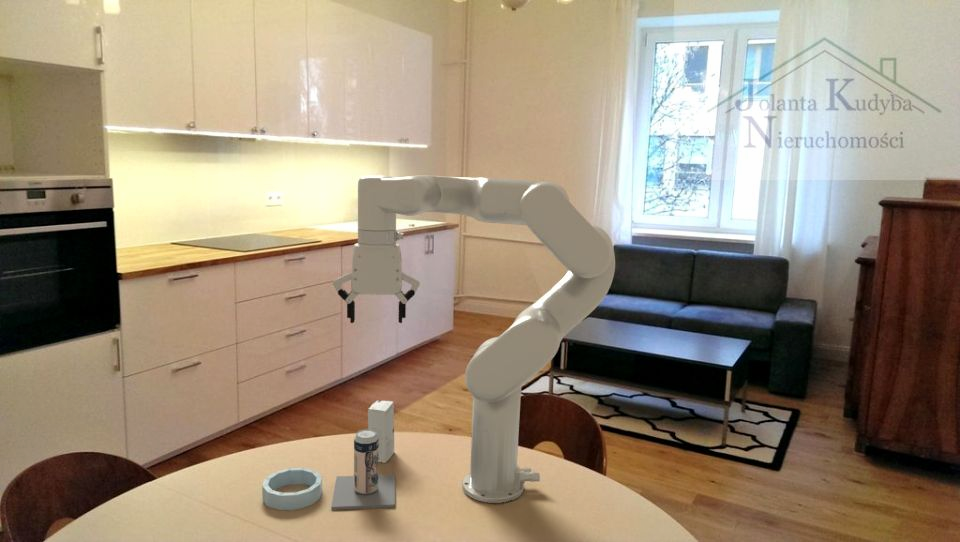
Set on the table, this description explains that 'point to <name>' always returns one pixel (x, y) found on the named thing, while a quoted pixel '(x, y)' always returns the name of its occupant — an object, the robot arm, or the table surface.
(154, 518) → the table surface
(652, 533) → the table surface
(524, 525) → the table surface
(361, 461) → the beer can
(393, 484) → the mat
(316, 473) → the light blue ring
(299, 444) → the table surface
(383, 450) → the skincare box
